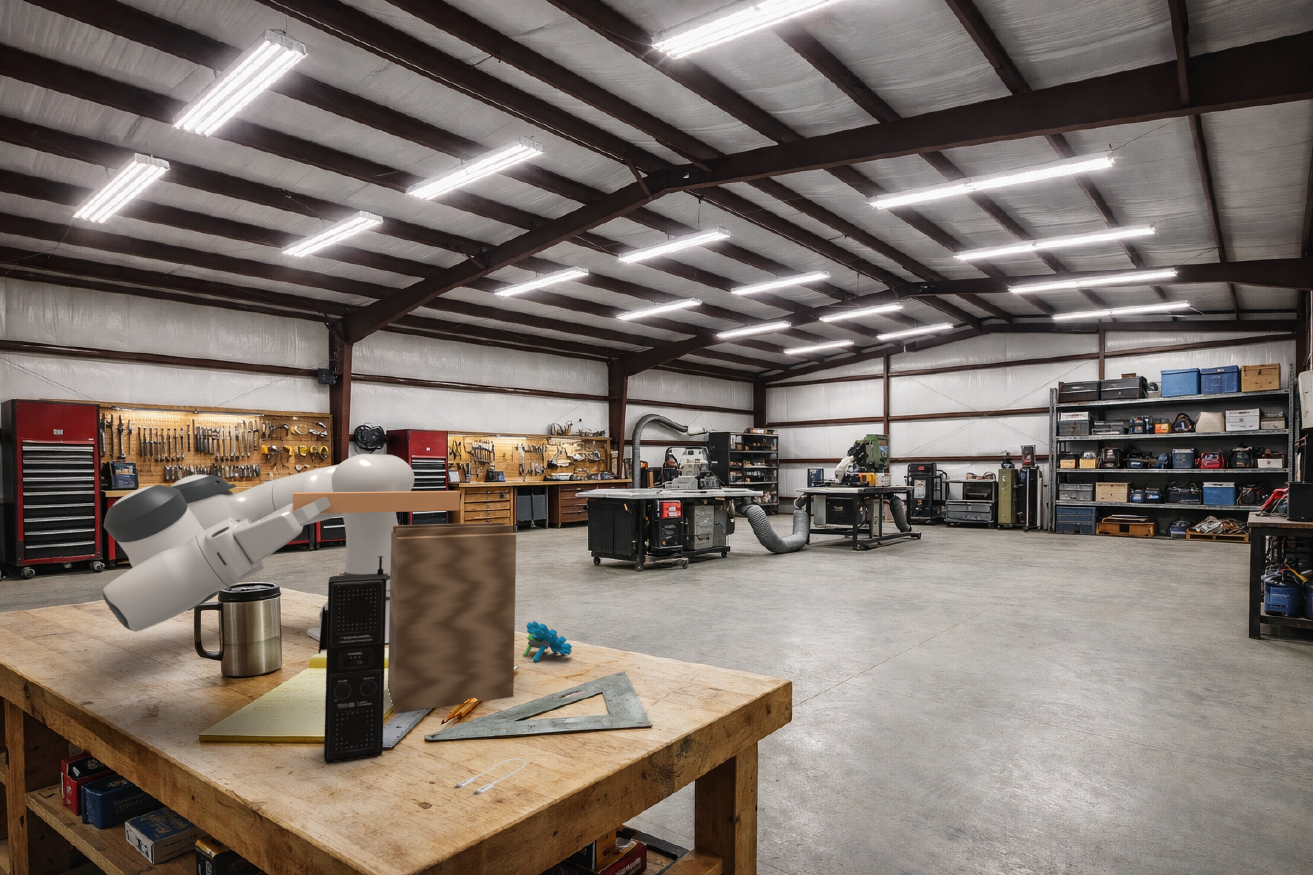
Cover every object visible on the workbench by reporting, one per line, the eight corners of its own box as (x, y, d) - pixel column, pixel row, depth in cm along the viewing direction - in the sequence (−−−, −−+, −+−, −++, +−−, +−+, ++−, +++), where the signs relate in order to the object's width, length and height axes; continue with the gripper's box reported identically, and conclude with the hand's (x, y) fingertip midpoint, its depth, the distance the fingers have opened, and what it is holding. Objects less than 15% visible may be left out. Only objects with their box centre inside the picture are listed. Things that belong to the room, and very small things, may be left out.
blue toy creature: (583, 651, 132) (550, 619, 128) (566, 678, 128) (532, 646, 125) (550, 647, 140) (518, 617, 136) (534, 673, 136) (500, 642, 132)
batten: (292, 514, 101) (292, 493, 101) (293, 512, 104) (293, 492, 104) (459, 510, 112) (459, 491, 112) (456, 509, 114) (456, 490, 114)
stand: (394, 713, 103) (398, 530, 104) (387, 689, 114) (391, 524, 115) (513, 696, 111) (516, 527, 112) (496, 675, 122) (499, 521, 123)
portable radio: (314, 767, 85) (319, 563, 86) (317, 748, 90) (322, 557, 91) (383, 756, 88) (387, 560, 89) (381, 739, 94) (385, 554, 94)
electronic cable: (452, 789, 80) (452, 785, 80) (510, 758, 89) (510, 754, 89) (478, 798, 78) (478, 794, 78) (534, 765, 87) (534, 761, 87)
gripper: (254, 557, 109) (338, 512, 115) (239, 578, 91) (340, 523, 96) (231, 523, 108) (318, 479, 114) (212, 538, 90) (316, 484, 95)
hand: (328, 499), depth 105 cm, fingers closed on batten, 3 cm apart
